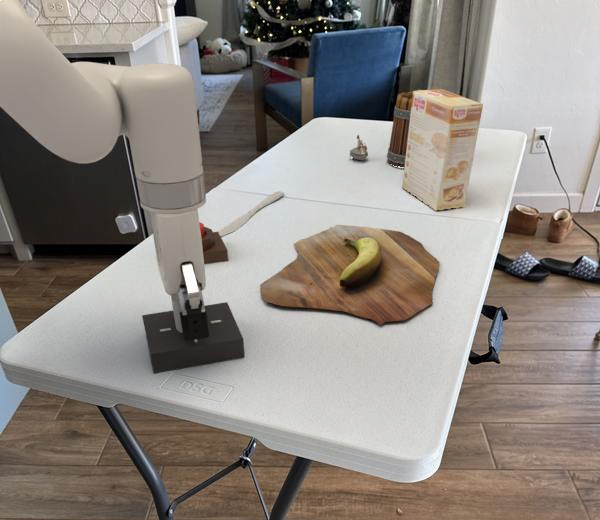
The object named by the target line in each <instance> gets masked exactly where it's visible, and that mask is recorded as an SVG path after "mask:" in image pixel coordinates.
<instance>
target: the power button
mask: <svg viewBox="0 0 600 520" xmlns="http://www.w3.org/2000/svg"><path fill="white" fill-rule="evenodd" d="M199 223H200V231H201V238H202V237H204V236H205V231H204V227H205V225H204V223H203V222H200V221H199Z"/></svg>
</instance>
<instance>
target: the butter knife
mask: <svg viewBox="0 0 600 520" xmlns="http://www.w3.org/2000/svg"><path fill="white" fill-rule="evenodd" d="M284 193H285V192H283V191H275V192H273V193H271V194H270V195H268V196H267V197H266V198H264V199H263V200H261V202H259V203H258V204H257V205H256V206H254V207H253V208H251V209H250V210H249V211H247V212H246V213H244V214H243V215H241V216H239V217H238V218H236V219H235V220H234V221H232V222H231V223H228V224H227V225H226V226H224V227H223V228H222V229H220V230H219V231H217V232H218V233H219V234H220V236H221V237H223V236H227V235H229V234H230V233H233V232H235V231H237V230H238V229H239V228H241V227H242V226H243V225H244V224H245V223H247V221H249V219H250V218H251V217H253V215H254V214H256V213H257V212H258V211H259V210H261V209H263V208H264V207H266V206H268V205H269V204H272V203H274V202H275V201H277V200H278V199H280V198H282V197H283V196H284V195H285V194H284Z"/></svg>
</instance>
